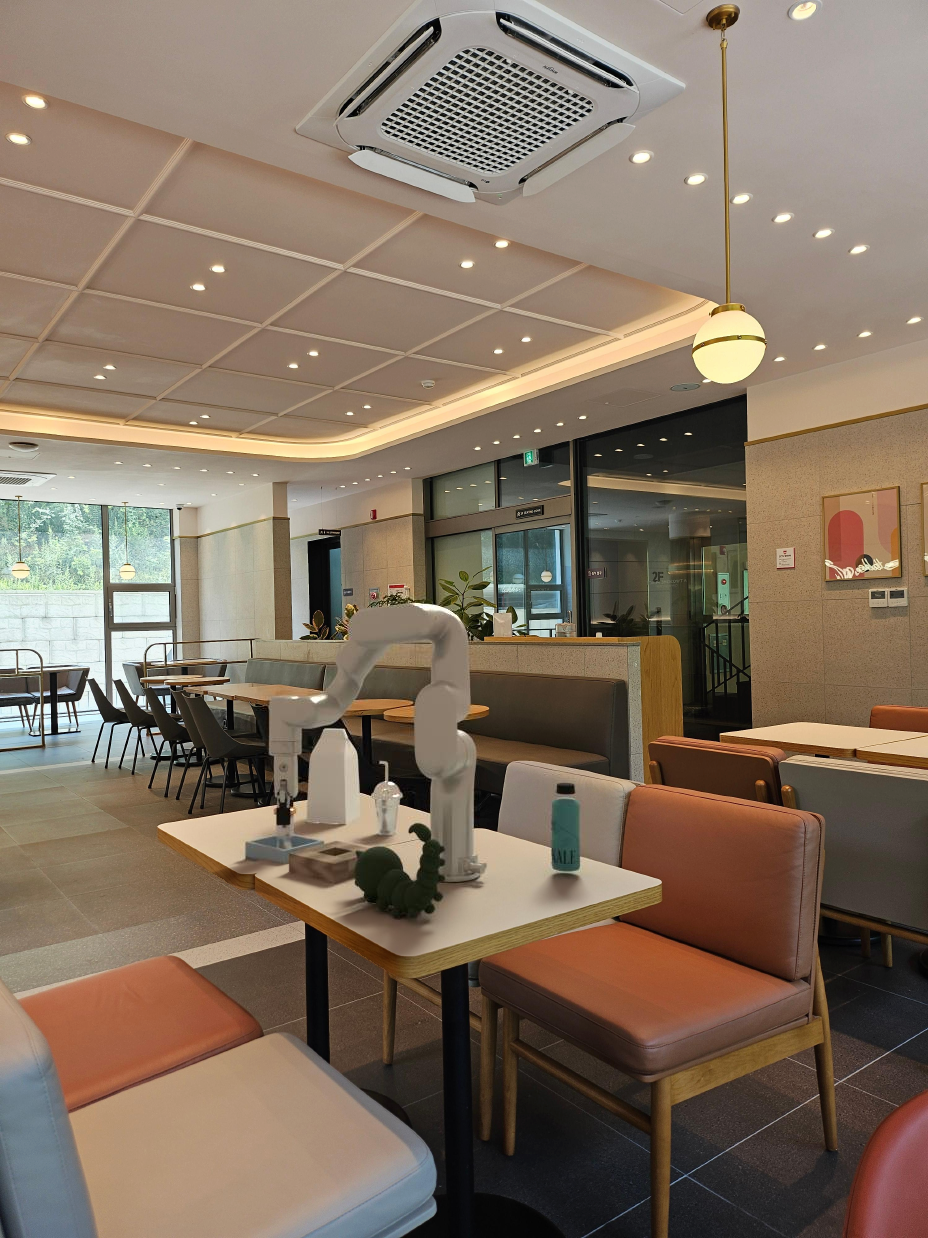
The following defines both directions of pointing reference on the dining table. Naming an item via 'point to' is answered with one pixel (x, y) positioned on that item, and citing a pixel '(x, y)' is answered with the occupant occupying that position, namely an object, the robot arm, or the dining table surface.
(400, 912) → the toy figurine
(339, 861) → the square wooden block
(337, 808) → the milk
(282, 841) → the copper capped shaker
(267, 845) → the tray
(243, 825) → the dining table surface
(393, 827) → the cup with straw
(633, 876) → the dining table surface
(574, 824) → the beverage bottle
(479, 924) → the dining table surface
